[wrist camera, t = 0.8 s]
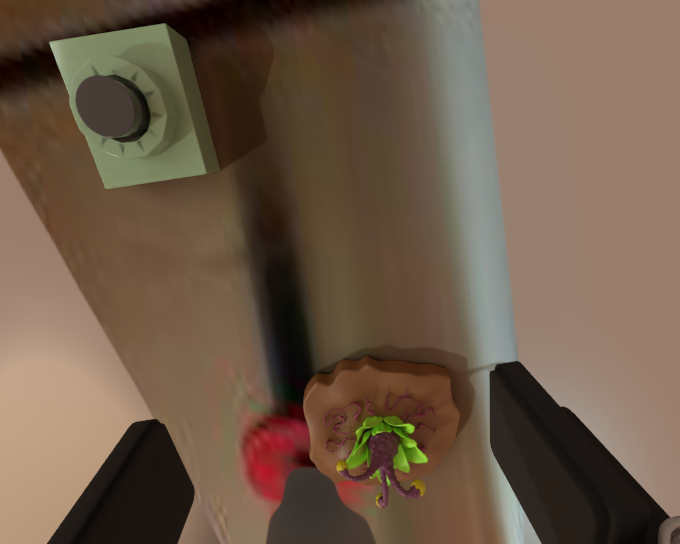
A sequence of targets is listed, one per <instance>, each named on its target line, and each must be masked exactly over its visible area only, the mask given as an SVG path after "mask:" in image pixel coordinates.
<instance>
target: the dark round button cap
mask: <svg viewBox="0 0 680 544" xmlns="http://www.w3.org/2000/svg"><path fill="white" fill-rule="evenodd" d="M75 103H76V108H77V111H78V113H79V116H80V117H81V119H82V121H83V122H84V123H85V124H86V126H87V127H89V128H90V129H91V130H92V131H93V132H95V133H97V134H99V135H101V136H104V137H108V138H127V139H128V138H134V137H137V136H138V135H140V134H141V133H142V132H143V131H144V130H145V128H146V126H147V123H148V118H149V116H148V108H147V105H146V102H145V100H144V99H143V97H142V95H141V94H140V93H139V92H138V91H137V90H136V89H135V88H134V87H133V86H131V85H129V84H127V83H125V82H122V81H119V80H116V79H113V78H110V77H107V76H102V75H94V76H90V77H88V78H86V79H84V80H83V81H82V82H81V83H80V84H79V86H78V88H77V91H76V95H75Z"/></svg>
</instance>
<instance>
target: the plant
mask: <svg viewBox="0 0 680 544" xmlns="http://www.w3.org/2000/svg"><path fill="white" fill-rule="evenodd" d="M303 409H304V414H305V418H306V421H307V425H308V428H309V433H310V442H311V443H310V452H309V455H310V459H311V460H312V461H313V462H314V463H315V464H316V466H317V468H318V469H319V470H320V471H321V472H322V473H323V474H325V475H326V476H328V477H329V478H331V479H332V481H333V482H335V483H338V482H341V481H354V482H359V483H362V484H364V485H367V486H369V485H377V484H381V483H382V484H381V487H382V492H383V494H379V495H377V496H376V503H377V505H378V506H379V507H381V508H385V507H386V506H387V504H388V490H389V489H388V486H389V485H390V484H391V485H392V487H393V488H395V489H396V491H397V492H398V494H399V495H402V496H404V497H406V498H419V497H421V496H422V495H423V494H424V492H425V490H426V489H425V484H424V483H423V481H421V480H419V479H417V480H414V481H413V482H412V484H411V487H410V490H409V491H405V490H404V488H403V487H401V485H400V482H398V481H406V480H412V479H415V478H418V477H421V476H424V475H426V474H430V473H432V472H433V471H434V469H435V468H436V466H437V465H438V464H439V463H440V462H441V460H442V459H443V458H444V457H445V456H446V454H447V453H448V452H449V451H450V449H451V447H452V445H453V443H454V441H455V439H456V434H457V428H458V424H459V420H460V411H459V409H458V407H457V405H456V403H455V401H454V400H453V399H452V392H451V379H450V376H449V374H448V372H447V370H446V368H444V367H439V366H436V365H434V364H429V363H426V364H414V363H410V362H407V361H401V360H389V361H377V360H374V359H372V358H370V357H369V356H367V355H366V356H365V357H363V358H362V359H360V360H356V361H352V360H346V359H344V360H341V361H340V362H339V363H338V365H337V366H336V368H335V370H334V371H333V372H332V373H331V374H322V373H317V374H315V375H314V376H313V378H312V379H311V380H310V381H309V383H308V385H307V387H306V389H305V393H304V401H303Z"/></svg>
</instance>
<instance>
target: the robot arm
mask: <svg viewBox="0 0 680 544" xmlns="http://www.w3.org/2000/svg"><path fill="white" fill-rule="evenodd" d="M490 445H491V448H492V451H493V454H494V456H495V458H496V460H497V462H498V464H499V465H500V467H501V469H502V471H503V473H504V475H505V476H506V478H507V480H508V482H509V484H510V486H511V488H512V489H513V491H514V493H515V495H516V497H517V499H518V501H519V502H520V504H521V506H522V508H523V510H524V512H525V513H526V515H527V517H528V519H529V521H530V523H531V524H532V526H533V528H534V530H535V532H536V534H537V536H538V538H539V539H540V541H541V543H542V544H680V516H676V517H672V518H670V517H669V516H668V515H667V514H666V512H665V511H664V510H663V509H662V508H661V507H660V506H659V505H658V504H657V503H656V502H655V501H654V499H653V498H652V497H651V496H650V495H649V494H648V493H647V492H646V491H645V490H644V489H643V488H642V487H641V485H640V484H639V483H638V482H637V481H636V480H635V479H634V478H633V477H632V476H631V475H630V474H629V473H628V471H627V470H626V469H625V468H624V467H623V466H622V465H621V464H620V463H619V462H618V461H617V459H616V458H615V457H614V456H613V455H612V454H611V453H610V452H609V451H608V450H607V449H606V448H605V446H604V445H603V444H602V443H601V442H600V441H599V440H598V439H597V438H596V437H595V436H594V435H593V433H592V432H591V431H590V430H589V429H588V428H587V427H586V426H585V425H584V424H583V423H582V422H581V421H580V419H579V418H578V417H577V416H576V415H575V414H574V413H573V412H571V410H569V409H568V408H566V407H560V406H559V405H558V404H557V403H556V402H555V401H554V400H553V398H552V397H551V396H550V395H549V394H548V393H547V392H546V390H545V389H544V388H543V387H542V386H541V385H540V384H539V383H538V382H537V381H536V379H535V378H534V377H533V376H532V375H531V374H530V373H529V372H528V370H527V369H526V368H525V367H524V366H523V365H522V364H521V363H520V362H518V361H515V362H509V363H502V364H497V365H496V367H495V370H493V371H491V372H490ZM194 494H195V491H194V486H193V484H192V482H191V480H190V478H189V475H188V473H187V471H186V469H185V467H184V465H183V463H182V460H181V458H180V456H179V454H178V452H177V450H176V447H175V445H174V443H173V441H172V439H171V437H170V435H169V432H168V430H167V428H166V426H165V425H164V424H163V423H160V422H159V421H158V420H157V419H152V420H145V421H139V422H135V423H133V424H132V425H131V426H130V427H129V428H128V429H127V431H126V432H125V434H124V435H123V437H122V438H121V440H120V441H119V442H118V444H117V445H116V446H115V448H114V449H113V451H112V452H111V454H110V455H109V456H108V458H107V459H106V461H105V462H104V464H103V465H102V466H101V468H100V469H99V471H98V472H97V474H96V475H95V476H94V478H93V479H92V481H91V482H90V483H89V485H88V486H87V488H86V489H85V491H84V492H83V493H82V495H81V496H80V498H79V499H78V500H77V502H76V503H75V505H74V506H73V508H72V509H71V510H70V512H69V513H68V515H67V516H66V517H65V519H64V520H63V522H62V523H61V524H60V526H59V528H58V529H57V530H56V532H55V533H54V535H53V536H52V537H51V539H50V540H49V542H48V543H47V544H177V543H178V541H179V538H180V535H181V533H182V530H183V527H184V525H185V522H186V519H187V517H188V514H189V512H190V509H191V506H192V504H193V500H194Z"/></svg>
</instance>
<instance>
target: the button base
mask: <svg viewBox="0 0 680 544" xmlns="http://www.w3.org/2000/svg"><path fill="white" fill-rule="evenodd" d="M49 43H50V46H51V49H52V51H53V54H54V56H55V59H56V62H57V64H58V67H59V69H60V72H61V75H62V77H63V80H64V82H65V85H66V88H67V90H68V93H69V95H70V101H69V103H70V107H71V109H72V112H73V114H74V117H75V120H76V122H77V125H78V127H79V129H80V131H81V132H82V133H83V134H84V135H85V137H86V139H87V142H88V145H89V147H90V150H91V152H92V155H93V157H94V160H95V163H96V165H97V168H98V170H99V173H100V176H101V178H102V181H103V183H104V186H105V189H111V188H118V187H124V186H131V185H138V184H144V183H151V182H157V181H164V180H171V179H177V178H184V177H191V176H197V175H204V174H209V173H214V172H218V171H220V167H219V163H218V159H217V155H216V151H215V148H214V144H213V140H212V136H211V132H210V128H209V124H208V121H207V117H206V113H205V109H204V105H203V101H202V97H201V94H200V90H199V86H198V82H197V78H196V74H195V71H194V67H193V63H192V59H191V55H190V51H189V47H188V44H187V40H186V39H185V38H184V37H183V36H181V35H180V34H179V33H177V32H176V31H175V30H173V29H172V28H171V27H169V26H168V25H167V24H165V23H164V24H158V25H151V26H145V27H139V28H133V29H126V30H120V31H114V32H107V33H101V34H95V35H89V36H82V37H76V38H70V39H63V40H57V41H51V42H49ZM94 75H102V76H107V77H110V78H113V79H116V80H119V81H122V82H125V83H127V84H129V85H131V86H133V87H134V88H135V89H136V90H137V91H138V92H139V93H140V94H141V95H142V97H143V99H144V100H145V102H146V105H147V108H148V116H149V118H148V123H147V126H146V128H145V130H144V131H143V132H142V133H141V134H140V135H138V136H137V137H134V138H128V139H127V138H108V137H104V136H101V135H99V134H97V133H95V132H93V131H92V130H91V129H90V128H89V127H87V126H86V124H85V123H84V122H83V121H82V119H81V117H80V116H79V113H78V111H77V108H76V103H75V95H76V91H77V88H78V86H79V84H80V83H81V82H82V81H83V80H84V79H86V78H88V77H90V76H94Z"/></svg>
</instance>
